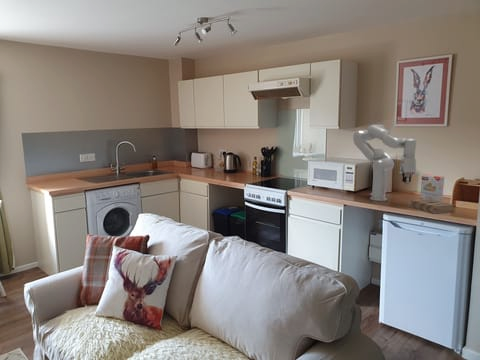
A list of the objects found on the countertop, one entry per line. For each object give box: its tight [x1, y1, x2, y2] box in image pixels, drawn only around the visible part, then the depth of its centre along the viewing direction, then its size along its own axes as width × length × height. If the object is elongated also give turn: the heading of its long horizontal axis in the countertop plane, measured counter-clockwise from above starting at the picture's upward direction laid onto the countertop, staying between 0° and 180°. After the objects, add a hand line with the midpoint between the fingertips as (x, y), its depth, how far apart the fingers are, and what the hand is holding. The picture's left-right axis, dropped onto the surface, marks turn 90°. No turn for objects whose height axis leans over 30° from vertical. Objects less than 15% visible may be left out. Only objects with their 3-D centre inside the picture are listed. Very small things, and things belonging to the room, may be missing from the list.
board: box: [410, 198, 454, 215], centre depth 250 cm, size 20×16×5 cm
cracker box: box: [419, 173, 445, 202], centre depth 268 cm, size 14×6×21 cm, turn 31°
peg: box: [403, 173, 410, 185], centre depth 261 cm, size 3×3×9 cm
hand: (406, 181), depth 261 cm, fingers closed on peg, 3 cm apart
